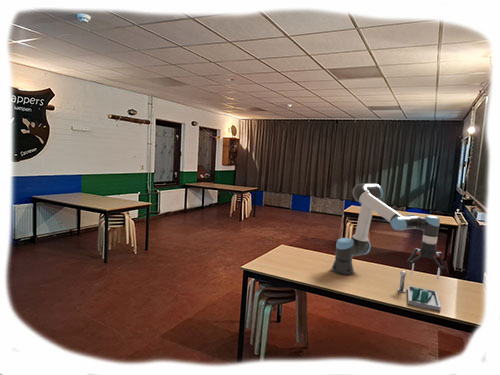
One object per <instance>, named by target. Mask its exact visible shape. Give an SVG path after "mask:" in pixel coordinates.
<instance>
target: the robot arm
mask: <svg viewBox="0 0 500 375" xmlns="http://www.w3.org/2000/svg"><path fill="white" fill-rule="evenodd" d="M383 195H384V191H383V188H382V186H381V185H379V184H378V183H369V182H368V183H358V184H356V185H355V186H354V187H353V188H352V196H353V199H355V201H356V202H358V203H359V204H360V210H359V214H358V219H357V224H356V228H355V233H354V234H353V235H352V236H351V238H350V237H342V238H341V237H340V238H338V239H337V240H336V243H335V244H336V245H335V257H334V261H333V263H332V266H331V271H332V272H333V273H335V274H338V275H341V276H351V275H354V273H355V272H354V265H353V257H358V256H364V255H367V254H369V253H370V251H371V247H372V246H371V242H370V238H369V237H368V235H369V231H370V227H371V222H372V218H373V213H374V212H375V213H376V214H377V215H378V216H380V217H382V218H383V219H384V220H386V221H387V222H388V223H390V226H391V228H392V229H393V230H394V231H395V230H396V231H405V230H413V229H416V230H420V231H423V232H422V240H421V246H420V248H417V247H415V248H414V250H413V252H412V254H410V256H409V257H408V259H407V261H406V262H407V263H408V264H409V270H411V272H410V275H411V276H413V275H414V268H415V263H417V261H418V260H420V259H421V258H425V259H432V260H433V261H434V263H435V264H436V265H437V267H438V269H437V274H436V281H439V279H440V276H442V274H443V270H447V266H446V264H445V262H444V260H443V257H442V256H443V255H442V252H441V251H437V243H438V237H439V230H440V226H441V225H440V217H439V216H435V215H426V216H425V217H422V216H418V215H415V214H407V215H406V216H404V215H402V214H400V213H399V212H397V211H396V210H395V209H393V208H391V207H390V206H388V205H387V204H386V203H384V202H383V201H381V200H382V198H383ZM417 253H420V254H418V256H416V255H417ZM436 255H437V256H438V258H439V260H440V262H441V264H442V265H441V264H440V262H439V261H438V260H437V258H436ZM415 256H416V257H415Z"/></svg>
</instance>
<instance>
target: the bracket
mask: <svg viewBox="0 0 500 375" xmlns="http://www.w3.org/2000/svg"><path fill="white" fill-rule="evenodd" d="M413 287H414V289H413V293H412V301H417V302H422V303H427V302H428V301H429V300H430V299H431V298H432V293H430V292H428V291H427V290H424V289H425V288H423V290H420V288H421V287H418V286H413ZM417 287H418V288H417Z"/></svg>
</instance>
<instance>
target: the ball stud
mask: <svg viewBox="0 0 500 375" xmlns="http://www.w3.org/2000/svg"><path fill="white" fill-rule="evenodd" d="M399 274H400V281H399V287H398V288H397V292H399V293H406V289H405V281H406V277H407V272H406V271H405V270H404V271H403V270H401V271H400V273H399Z"/></svg>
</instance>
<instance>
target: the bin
mask: <svg viewBox="0 0 500 375" xmlns="http://www.w3.org/2000/svg"><path fill="white" fill-rule="evenodd" d="M414 287H415V286H413V285H407V288H406V289H407V303H408V304H407V305H410V306H413V307H418V308H423V309H427V310H432V311H437V312H441V310H442V309H441V308H442V307H441V304H440V303H441V302H440V299H439V296H438V292H437V290H433V289H428V288H424V287H423V288H422V287H418V286H416V287H417V288H420V290H423V289H424V290H427V291H428V292H430V293H432V298H431V299H430V300H429V301H428V302H427V303H422V302H417V301H412V293H413V289H414Z"/></svg>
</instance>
